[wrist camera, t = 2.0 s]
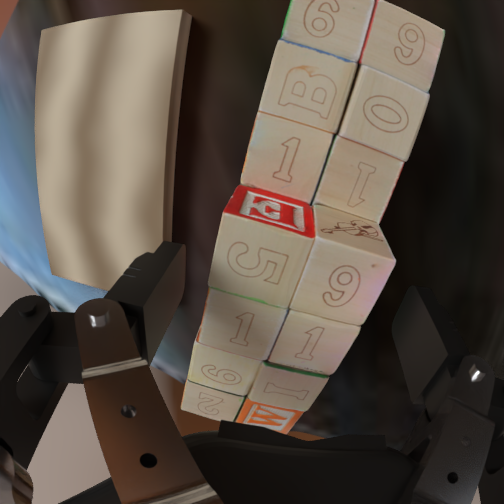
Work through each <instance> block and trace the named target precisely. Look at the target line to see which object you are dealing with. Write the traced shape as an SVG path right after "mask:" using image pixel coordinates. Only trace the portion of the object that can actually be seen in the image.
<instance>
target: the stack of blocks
mask: <svg viewBox="0 0 504 504" xmlns="http://www.w3.org/2000/svg"><path fill="white" fill-rule="evenodd" d="M444 36H445V30H443V29H441V28H439V27H438V26H436V25H434V24H432V23H430V22H428V21H426V20H424V19H422V18H420V17H418V16H416V15H414V14H412V13H410V12H408V11H406V10H404V9H402V8H400V7H398V6H395V5H393V4H391V3H388V2H386V1H384V0H291V2H290V5H289V8H288V11H287V15H286V18H285V21H284V26H283V30H282V34H281V38H280V39H279V40H278V42H277V45H276V48H275V52H274V55H273V59H272V62H271V66H270V70H269V73H268V77H267V80H266V84H265V87H264V91H263V95H262V98H261V102H260V106H259V110H258V113H257V116H256V119H255V123H254V127H253V130H252V134H251V138H250V142H249V146H248V150H247V155H246V159H245V163H244V167H243V171H242V175H241V184H240V185H239V186H237V188H236V189H235V191H234V194H233V195H232V197H231V198H230V200H229V202H228V204H227V206H226V207H225V209H224V211H223V214H222V219H221V223H220V228H219V232H218V237H217V241H216V246H215V250H214V255H213V261H212V265H211V270H210V275H209V279H208V285H209V290H208V295H207V299H206V303H205V308H204V313H203V318H202V323H201V326H200V328H199V331H198V334H197V336H196V339H195V342H194V347H193V352H192V357H191V363H190V368H189V372H188V377H187V380H186V383H185V389H184V393H183V398H182V403H181V409H182V410H185V411H188V412H192V413H194V414H198V415H201V416H204V417H208V418H211V419H214V420H218V421H221V420H226V421H232V422H237V423H243V424H249V425H255V426H262V427H266V428H269V429H272V430H274V431H277V432H280V433H283V434H287V433H288V432H289V431H290V429H291V428H292V427H293V425H294V424H295V423H296V422H297V420H298V419H299V418H300V416H301V415H302V414H303V412H304V411H307V410H308V409H309V407H310V406H311V405H312V403H313V402H314V400H315V399H316V398H317V396H318V395H319V393H320V392H321V391H322V389H323V387H324V386H325V384H326V383H327V381H328V379H329V375H330V374H333V373H334V372H335V371H336V369H337V368H338V367H339V365H340V363H341V362H342V360H343V358H344V357H345V355H346V354H347V352H348V350H349V349H350V347H351V346H352V344H353V342H354V341H355V339H356V337H357V336H358V334H359V332H360V328H361V325H362V324H363V323H364V322H365V321H366V319H367V317H368V315H369V313H370V312H371V310H372V308H373V306H374V304H375V303H376V301H377V299H378V297H379V295H380V293H381V292H382V290H383V288H384V286H385V284H386V282H387V280H388V278H389V276H390V274H391V272H392V270H393V268H394V266H395V265H396V259H395V257H394V255H393V253H392V251H391V249H390V247H389V245H388V243H387V241H386V239H385V237H384V234H383V232H382V230H381V228H380V226H379V223H380V222H381V219H382V217H383V215H384V212H385V210H386V208H387V205H388V203H389V201H390V198H391V196H392V193H393V191H394V189H395V186H396V184H397V181H398V179H399V176H400V174H401V171H402V169H403V166H404V162H406V161H407V160H408V158H409V156H410V153H411V150H412V148H413V145H414V142H415V140H416V137H417V134H418V131H419V128H420V126H421V123H422V120H423V117H424V114H425V111H426V107H427V104H428V101H429V98H430V95H429V93H428V92H429V89H430V86H431V83H432V80H433V77H434V74H435V70H436V66H437V63H438V59H439V56H440V52H441V48H442V44H443V40H444Z"/></svg>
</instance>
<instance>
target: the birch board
mask: <svg viewBox="0 0 504 504" xmlns="http://www.w3.org/2000/svg"><path fill="white" fill-rule="evenodd" d="M191 20H192V16H191V15H189V14H188V13H186V12H185V11H183V10H166V11H150V12H139V13H129V14H121V15H113V16H107V17H100V18H94V19H89V20H83V21H78V22H74V23H69V24H65V25H60V26H56V27H52V28H48V29H45V30H42V32H41V39H40V47H39V55H38V65H37V77H36V95H35V150H36V168H37V181H38V192H39V201H40V209H41V217H42V224H43V230H44V236H45V242H46V248H47V253H48V258H49V263H50V268H51V273H52V275H55V276H58V277H62V278H65V279H68V280H72V281H75V282H79V283H82V284H86V285H89V286H93V287H96V288H100V289H103V290H107V291H109V290H110V289H111V288H112V286H113V285H114V284H115V283H116V281H117V280H118V279H119V278H120V276H121V275H123V273H124V272H125V270H126V269H127V268H129V265H130V264H131V263H132V262H133V261H134V259H135V258H137V257H139V256H140V255H142V254H144V253H146V252H150V253H154V252H155V251H156V250H157V248H158V247H159V246H160V244H161V243H162V242H163V241H169V242H172V214H173V191H174V173H175V158H176V145H177V132H178V121H179V111H180V101H181V92H182V84H183V75H184V67H185V60H186V53H187V46H188V39H189V32H190V26H191Z"/></svg>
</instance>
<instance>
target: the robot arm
mask: <svg viewBox="0 0 504 504" xmlns="http://www.w3.org/2000/svg"><path fill="white" fill-rule="evenodd" d="M185 265H186V246H185V244H180V243H174V242H169V241H163V242H162V243H161V244H160V246H159V247H158V248H157V250H156V251H155V252H154V253H150V252H146V253H144V254H142V255H140V256H139V257H137V258H135V259H134V261H133V262H132V263H131V264H130V265H129V268H127V269H126V270H125V272H124V273H123V275H121V276H120V278H119V279H118V280H117V281H116V283H115V284H114V285H113V286H112V288H111V289H110V290H109V291H108V293H107V294H106V295H105V297H104V298H98V299H92V300H89V301H87V302H85V303H83V304H82V305H80V306H79V307H78V309H77V310H76V312H75V313H69V312H51V309H50V305H49V303H48V301H47V300H46V299H45V298H43V297H41V296H36V295H30V296H25V297H23V298H20V299H18V300H16V301H15V302H14V303H13V304H12V305H11V306H10V307H9V308H8V309H7V310H6V312H5V313H4V314H3V315H2V316H1V317H0V504H32V498H33V482H32V479H31V477H30V475H29V473H28V472H27V468H28V466H29V464H30V461H31V459H32V457H33V454H34V452H35V450H36V448H37V445H38V443H39V441H40V439H41V437H42V435H43V433H44V431H45V429H46V426H47V424H48V422H49V420H50V418H51V416H52V414H53V412H54V410H55V408H56V406H57V404H58V402H59V400H60V398H61V396H62V394H63V392H64V390H65V389H66V387H67V385H68V383H77V384H84V388H85V392H86V396H87V400H88V404H89V408H90V412H91V416H92V419H93V422H94V426H95V430H96V433H97V436H98V440H99V443H100V446H101V449H102V452H103V455H104V458H105V461H106V464H107V467H108V470H109V473H110V475H111V477H110V478H108V479H106V480H104V481H103V482H101V483H99V484H97V485H95V486H93V487H91V488H89V489H87V490H85V491H83V492H81V493H79V494H77V495H75V496H73V497H71V498H70V499H67V500H65V501H63V502H61V503H58V504H471V502H472V500H473V497H474V494H475V492H476V489H477V486H478V488H479V494H480V501H481V504H504V437H503V434H504V380H501V379H498V378H495V375H494V372H493V370H492V368H491V367H490V365H489V364H488V363H487V362H486V361H485V360H483V359H482V358H480V357H477V356H474V355H470V353H469V351H468V349H467V347H466V345H465V343H464V341H463V339H462V337H461V335H460V333H459V332H458V331H457V328H456V326H455V324H453V320H452V318H451V317H450V315H449V313H448V312H447V311H446V310H445V309H444V308H443V307H442V306H441V305H440V304H439V302H438V301H437V299H436V297H435V295H434V294H433V292H432V290H431V289H430V288H426V287H420V286H414V285H412V286H410V287H409V288H408V289H407V291H406V294H405V296H404V298H403V300H402V302H401V305H400V307H399V309H398V311H397V313H396V315H395V317H394V320H393V323H392V336H393V339H394V342H395V346H396V349H397V352H398V355H399V359H400V362H401V365H402V369H403V372H404V376H405V379H406V383H407V387H408V390H409V394H410V398H411V402H412V404H425V405H426V408H425V409H424V410H423V412H422V413H421V415H420V416H419V418H418V420H417V422H416V424H415V426H414V428H413V430H412V432H411V433H410V435H409V437H408V439H407V440H406V442H405V444H404V446H403V447H402V449H401V450H400V451H398V450H395V449H392V448H390V447H386V441H385V435H350V434H348V435H343V436H338V437H332V438H327V439H320V440H315V441H305V440H301V439H298V438H295V437H292V436H288V435H286V434H283V433H280V432H277V431H274V430H272V429H269V428H266V427H262V426H255V425H249V424H243V423H237V422H232V421H226V420H221V423H220V427H219V431H205V432H198V433H193V434H189V435H186V436H183V437H182V436H181V435H180V433H179V431H178V429H177V427H176V425H175V423H174V421H173V419H172V417H171V415H170V412H169V410H168V408H167V406H166V404H165V402H164V400H163V397H162V395H161V394H160V391H159V389H158V386H157V384H156V382H155V380H154V377H153V375H152V373H151V370H150V368H149V366H150V364H151V362H152V360H153V358H154V356H155V353H156V351H157V349H158V347H159V345H160V343H161V341H162V339H163V336H164V334H165V332H166V330H167V328H168V326H169V324H170V322H171V320H172V318H173V316H174V313H175V311H176V309H177V307H178V305H179V303H180V301H181V299H182V296H183V292H184V286H185ZM27 365H28V366H27ZM26 366H27V368H26ZM25 368H26V369H25ZM24 369H25V371H24ZM23 371H24V372H23ZM22 373H23V374H22ZM21 374H22V375H21ZM20 376H21V377H20ZM19 377H20V379H19ZM18 379H19V381H18ZM17 381H18V382H17Z"/></svg>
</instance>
